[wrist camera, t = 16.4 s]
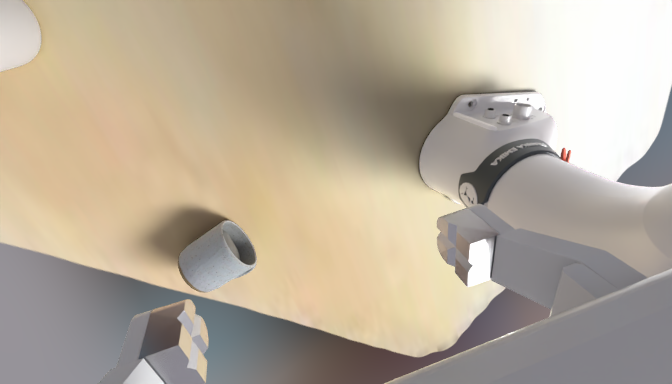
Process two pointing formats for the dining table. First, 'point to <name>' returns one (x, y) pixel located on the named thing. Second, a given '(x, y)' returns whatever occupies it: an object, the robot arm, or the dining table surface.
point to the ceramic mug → (217, 257)
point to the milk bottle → (17, 34)
